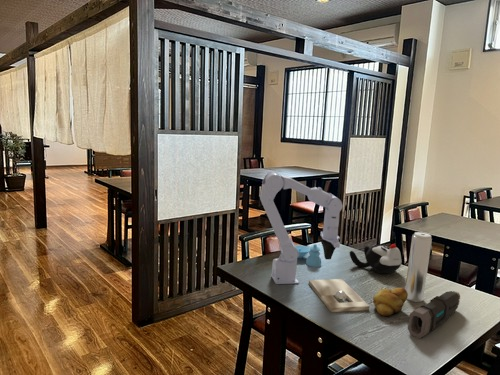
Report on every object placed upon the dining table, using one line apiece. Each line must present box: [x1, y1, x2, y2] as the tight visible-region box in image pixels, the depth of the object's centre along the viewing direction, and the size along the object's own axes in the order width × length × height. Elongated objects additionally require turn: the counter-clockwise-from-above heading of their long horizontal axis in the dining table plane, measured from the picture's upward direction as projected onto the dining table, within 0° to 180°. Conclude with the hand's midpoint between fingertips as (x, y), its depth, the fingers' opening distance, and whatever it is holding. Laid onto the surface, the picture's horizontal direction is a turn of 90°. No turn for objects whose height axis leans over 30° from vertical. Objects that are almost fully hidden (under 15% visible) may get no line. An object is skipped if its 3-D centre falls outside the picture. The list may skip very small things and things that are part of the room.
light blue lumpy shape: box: [294, 244, 322, 268], centre depth 167 cm, size 18×10×9 cm, turn 37°
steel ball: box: [335, 291, 347, 303], centre depth 129 cm, size 4×4×4 cm
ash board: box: [308, 278, 370, 313], centre depth 133 cm, size 14×22×2 cm, turn 11°
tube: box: [407, 290, 461, 339], centre depth 118 cm, size 11×7×30 cm
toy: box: [349, 243, 402, 275], centre depth 160 cm, size 16×17×20 cm
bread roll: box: [372, 287, 408, 317], centre depth 124 cm, size 13×10×8 cm
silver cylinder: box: [404, 231, 433, 303], centre depth 133 cm, size 6×6×25 cm
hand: (327, 258), depth 144 cm, fingers closed
